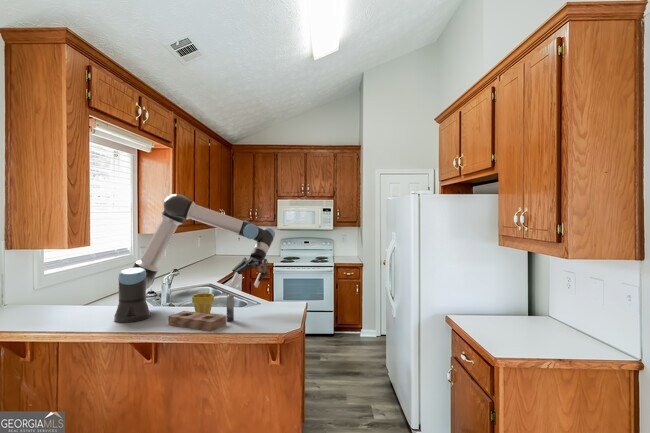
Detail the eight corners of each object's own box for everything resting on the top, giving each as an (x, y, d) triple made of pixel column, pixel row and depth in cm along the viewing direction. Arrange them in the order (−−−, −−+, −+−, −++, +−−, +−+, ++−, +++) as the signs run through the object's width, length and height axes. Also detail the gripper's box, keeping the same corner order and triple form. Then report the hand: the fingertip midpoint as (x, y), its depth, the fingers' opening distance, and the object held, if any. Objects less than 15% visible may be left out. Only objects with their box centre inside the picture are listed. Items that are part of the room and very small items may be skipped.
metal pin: (225, 321, 174) (225, 295, 174) (229, 319, 177) (229, 294, 177) (231, 322, 173) (231, 296, 172) (235, 320, 176) (235, 295, 175)
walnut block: (168, 324, 168) (168, 316, 168) (184, 319, 177) (184, 310, 177) (211, 331, 159) (211, 321, 159) (225, 324, 168) (226, 315, 168)
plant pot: (207, 318, 179) (207, 297, 179) (187, 316, 181) (187, 296, 181) (217, 312, 189) (217, 293, 189) (199, 311, 191) (199, 292, 191)
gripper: (282, 257, 197) (268, 291, 183) (242, 255, 206) (226, 287, 192) (277, 248, 192) (262, 282, 178) (237, 247, 201) (219, 279, 187)
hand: (243, 285), depth 185 cm, fingers open, 13 cm apart
